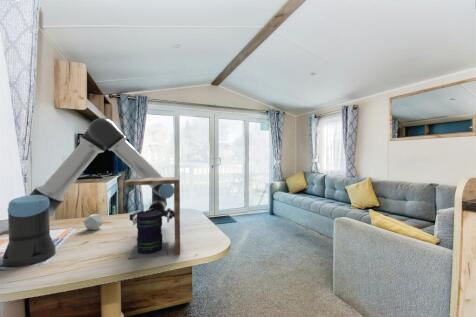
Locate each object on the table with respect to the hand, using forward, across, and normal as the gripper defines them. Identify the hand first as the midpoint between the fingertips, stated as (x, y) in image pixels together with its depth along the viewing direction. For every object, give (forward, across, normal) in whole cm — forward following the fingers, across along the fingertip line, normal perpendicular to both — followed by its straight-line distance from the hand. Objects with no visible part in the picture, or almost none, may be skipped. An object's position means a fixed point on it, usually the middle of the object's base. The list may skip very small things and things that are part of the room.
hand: (151, 220), depth 96 cm
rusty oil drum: (+2, 0, -12) cm, 12 cm away
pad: (+2, 0, -12) cm, 12 cm away
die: (-35, +34, -12) cm, 50 cm away
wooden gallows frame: (+2, -2, -12) cm, 12 cm away
